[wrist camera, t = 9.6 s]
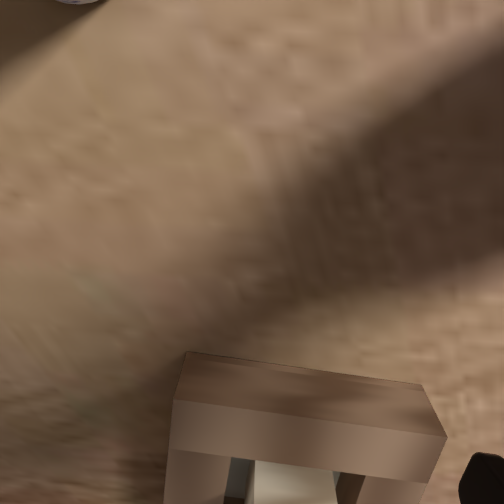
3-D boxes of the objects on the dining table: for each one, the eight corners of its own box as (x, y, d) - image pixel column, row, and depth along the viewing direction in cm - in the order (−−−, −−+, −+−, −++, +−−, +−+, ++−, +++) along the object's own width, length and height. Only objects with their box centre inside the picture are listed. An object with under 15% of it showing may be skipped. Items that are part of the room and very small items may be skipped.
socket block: (421, 385, 22) (447, 437, 19) (363, 538, 27) (375, 601, 24) (186, 351, 22) (173, 399, 19) (169, 513, 27) (156, 572, 24)
